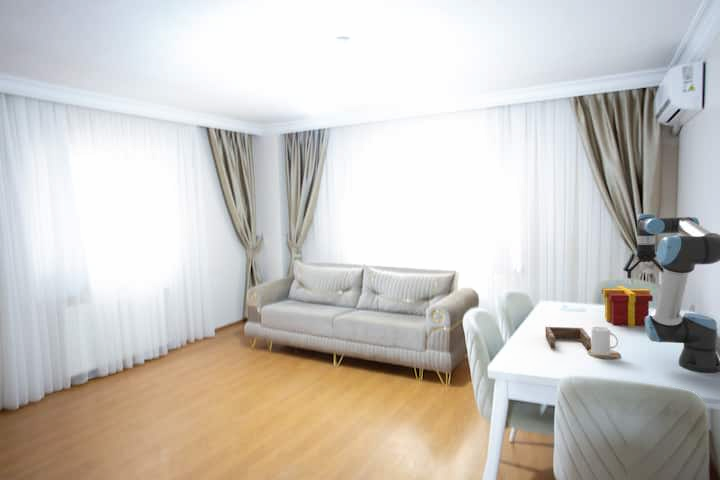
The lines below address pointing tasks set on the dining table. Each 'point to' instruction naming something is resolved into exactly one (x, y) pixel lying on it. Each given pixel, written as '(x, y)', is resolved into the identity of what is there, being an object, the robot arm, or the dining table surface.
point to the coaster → (611, 356)
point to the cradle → (567, 335)
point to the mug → (601, 341)
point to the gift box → (626, 306)
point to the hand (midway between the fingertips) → (645, 284)
